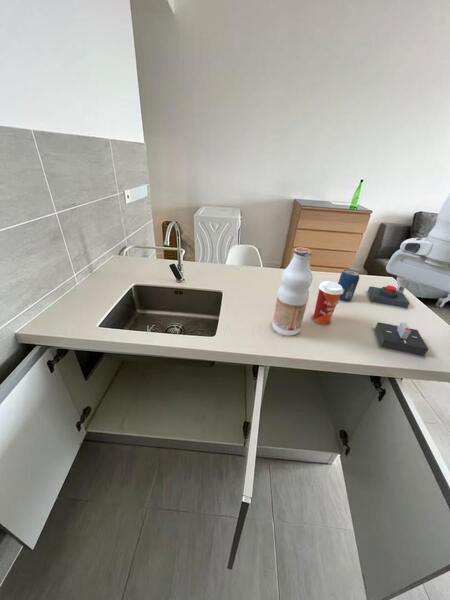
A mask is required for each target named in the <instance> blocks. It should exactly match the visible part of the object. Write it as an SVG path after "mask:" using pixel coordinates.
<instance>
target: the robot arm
mask: <svg viewBox="0 0 450 600" xmlns="http://www.w3.org/2000/svg"><path fill="white" fill-rule="evenodd" d="M385 270H386V273H388V274H391V275H394V276H397V277H396V284H397V287H396V291H398V292H401V293H402V292H403V293H404V291H405V289H406V288H407V286H406V285H404V283H403V280H405V279H406V280H410V281H412V282H416V283H419V284H423V285H425V286H427V287H432V288H434V289H438V290H441V291H444V292H447V296H446V297H444V298H443V297H439V298H438V299H437V302H436V303H435V306H437V307H440V308H443V307H444V305H445V304H446V303H447V302H449V301H450V192H449V194H448V195H447V197H446V198H445V200H444V202H443V203H442V206H441V208H440V209H439V212H438V214H437V216H436V221H435V224H434V226H433V227H432V229H431V230H430V231H429V232H428V234H427V237H411V238H408V239H405V240H404V241H402V242H401V244H400V246H399V249H397V250H396V251H395V252H394V253H393V254H392V255H391V257H390V259H388V262H387V263H386V266H385Z"/></svg>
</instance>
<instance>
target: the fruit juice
mask: <svg viewBox="0 0 450 600" xmlns="http://www.w3.org/2000/svg"><path fill="white" fill-rule="evenodd" d="M312 252H313V251H312V250H311V248H308V247H302V246H298V247H295V248H294V249H293V258H292V259H291V260H290V262H289V263H288V265H287V266H286V267H285V269H284V270H283V272H282V274H281V279H280V280H281V284H280V286H279V288H278V291H277V295H276V302H275V306H274V312H273V318H272V322H271V323H272V328H273V330H274V331H275V332H277V333H278V334H279V335H282V336H295V335H297V334H298V333H299V332H300V330H301V328H302V327H301V326H302V323H303V319H304V316H305V313H306V309H307V304H308V301H309V296H310V291H309V289H310V287H311V286H312V284H313V278H314V276H313V273H312V270H311V263H310V259H311V257H312V254H313V253H312Z"/></svg>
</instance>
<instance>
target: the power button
mask: <svg viewBox="0 0 450 600" xmlns="http://www.w3.org/2000/svg"><path fill="white" fill-rule="evenodd" d="M385 287H386V289H385V290H386V291H387V292H390V293H395V291H396V290H397V287H396V286H393V285H386V286H385Z"/></svg>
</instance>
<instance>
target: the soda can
mask: <svg viewBox="0 0 450 600" xmlns="http://www.w3.org/2000/svg"><path fill="white" fill-rule="evenodd" d="M359 281H360V273H359V271H356V270H355V269H354V270H353V269H347V268H346V269H344V270H343V271H342V272H341V273H340V276H339V279H338V282H337V283H338V284H339V285H341V286H342V290H343V293H342V294H341V295H340V297H339V300H338V301H342V302H349V301H351V300H352V299H353V298H354V294H355V291H356V289H357V286H358V284H359Z"/></svg>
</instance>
